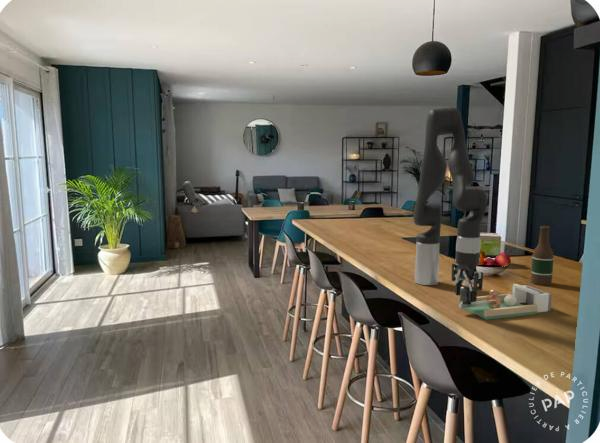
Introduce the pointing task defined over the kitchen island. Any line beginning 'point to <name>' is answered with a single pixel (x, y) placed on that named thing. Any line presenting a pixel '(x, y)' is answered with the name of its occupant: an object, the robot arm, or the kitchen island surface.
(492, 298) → the striker
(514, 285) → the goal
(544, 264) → the beer bottle
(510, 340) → the kitchen island surface
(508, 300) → the ball
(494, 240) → the tea box
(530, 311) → the pitch
